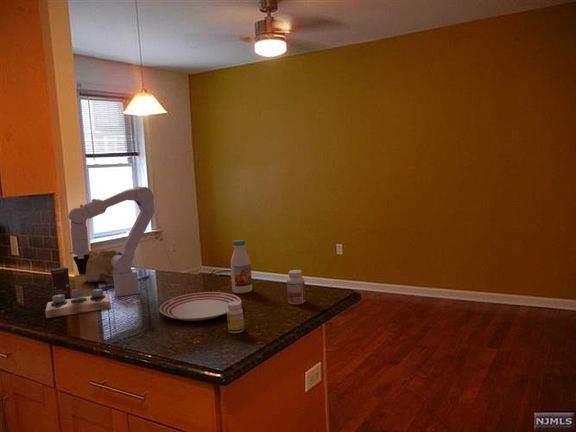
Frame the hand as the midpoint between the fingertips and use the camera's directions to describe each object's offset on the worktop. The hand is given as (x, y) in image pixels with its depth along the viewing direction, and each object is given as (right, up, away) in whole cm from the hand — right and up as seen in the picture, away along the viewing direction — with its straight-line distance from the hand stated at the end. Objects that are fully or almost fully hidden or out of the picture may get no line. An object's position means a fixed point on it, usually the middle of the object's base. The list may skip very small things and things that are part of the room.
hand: (82, 274), depth 181 cm
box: (-11, -11, +7) cm, 17 cm away
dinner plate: (+49, -11, -20) cm, 54 cm away
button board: (+3, -11, -9) cm, 15 cm away
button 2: (+8, -7, -6) cm, 12 cm away
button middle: (+2, -7, -8) cm, 11 cm away
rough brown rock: (-2, -7, +33) cm, 34 cm away
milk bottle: (+61, -7, +3) cm, 62 cm away
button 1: (-4, -8, -11) cm, 14 cm away
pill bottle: (+82, -8, -15) cm, 84 cm away
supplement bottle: (+63, -12, -40) cm, 76 cm away
